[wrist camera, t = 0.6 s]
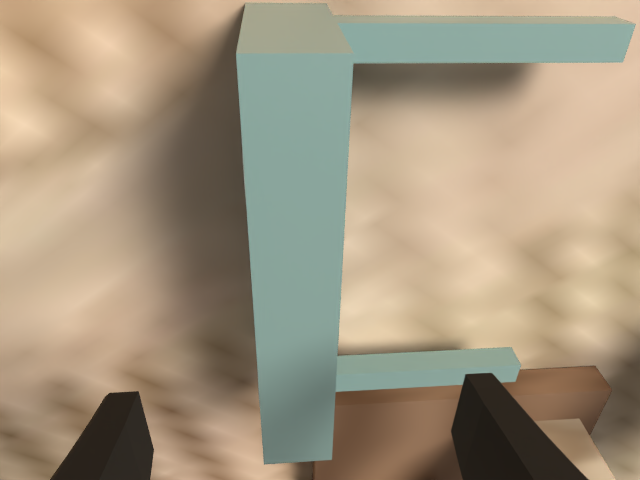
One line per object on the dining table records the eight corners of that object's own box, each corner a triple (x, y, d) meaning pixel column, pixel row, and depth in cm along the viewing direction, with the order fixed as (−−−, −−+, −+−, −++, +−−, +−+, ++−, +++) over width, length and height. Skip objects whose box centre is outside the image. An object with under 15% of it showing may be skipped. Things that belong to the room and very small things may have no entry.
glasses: (579, 3, 16) (717, 52, 11) (489, 331, 24) (547, 445, 19) (244, 2, 15) (233, 53, 10) (263, 342, 23) (262, 464, 18)
